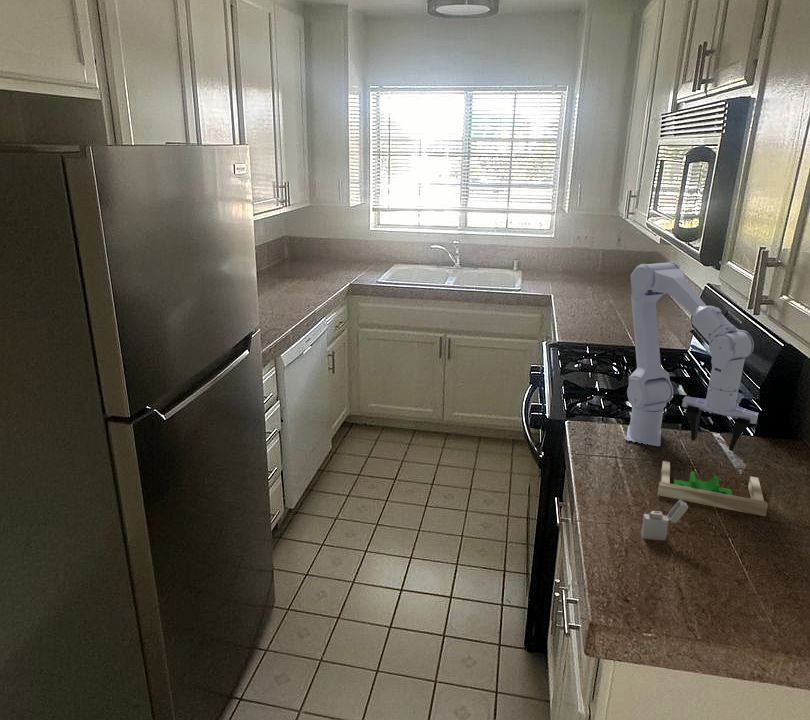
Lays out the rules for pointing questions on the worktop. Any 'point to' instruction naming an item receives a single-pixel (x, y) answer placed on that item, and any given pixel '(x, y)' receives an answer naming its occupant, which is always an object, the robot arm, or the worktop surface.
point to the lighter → (661, 521)
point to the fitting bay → (714, 495)
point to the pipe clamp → (703, 484)
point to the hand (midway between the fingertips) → (712, 443)
